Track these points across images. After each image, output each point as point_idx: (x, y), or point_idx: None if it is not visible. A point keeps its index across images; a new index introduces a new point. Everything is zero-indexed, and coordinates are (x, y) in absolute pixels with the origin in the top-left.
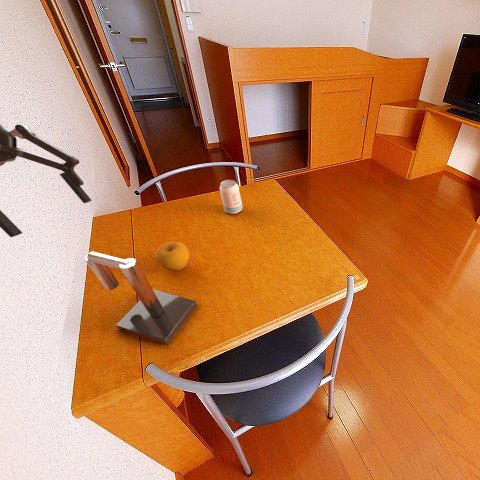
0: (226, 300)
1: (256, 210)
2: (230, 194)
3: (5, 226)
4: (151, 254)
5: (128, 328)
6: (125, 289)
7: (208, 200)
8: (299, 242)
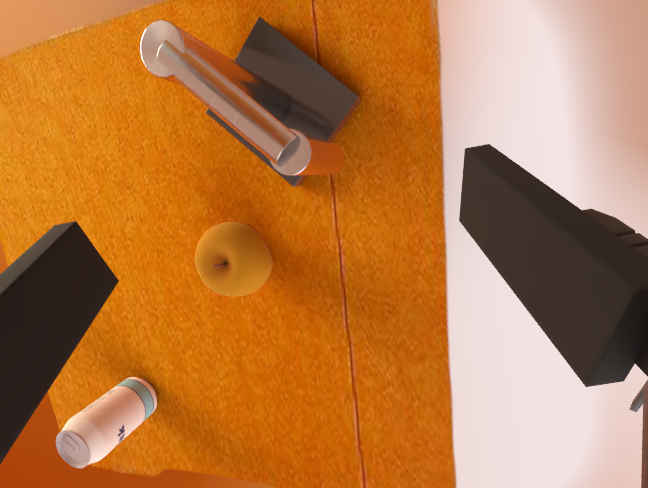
0: (163, 108)
1: (101, 368)
2: (89, 413)
3: (501, 177)
4: (311, 320)
5: (331, 77)
6: (359, 223)
7: (194, 460)
8: (32, 223)
